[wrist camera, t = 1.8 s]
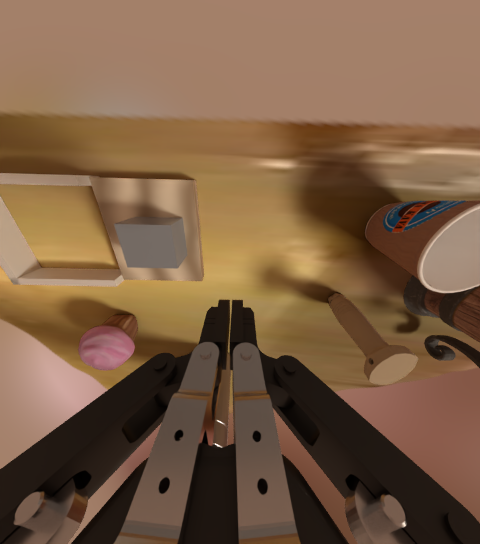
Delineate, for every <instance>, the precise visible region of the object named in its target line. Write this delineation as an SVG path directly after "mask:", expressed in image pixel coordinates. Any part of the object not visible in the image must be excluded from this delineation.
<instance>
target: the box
mask: <svg viewBox="0 0 480 544" xmlns="http://www.w3.org/2000/svg"><path fill="white" fill-rule="evenodd" d="M89 177H97V178H100V177H99V176H85V175H52V174H15V173H0V184H26V185H63V186H92V185H91V182H90V179H89ZM0 266H1V267H2V269H3V270H4V271H5V273H6V274H7V276H8V277H9V279H10V280H11V281H12V283H13V284H19V285H67V286H115V287H117V286H118V285H119V284H120V283H121V282H123V281H124V279H123V277H122V274H121V271H120V269H85V268H41V266H40V264H39V262H38V261H37V259H36V257H35V255H34V254H33V252H32V250H31V249H30V247H29V245H28V243H27V242H26V240H25V238H24V236H23V235H22V233H21V231H20V229H19V228H18V226H17V224H16V222H15V221H14V219H13V217H12V216H11V214H10V212H9V210H8V209H7V207H6V205H5V203H4V202H3V200H2V198H1V196H0Z"/></svg>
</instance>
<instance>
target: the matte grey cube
mask: <svg viewBox="0 0 480 544" xmlns="http://www.w3.org/2000/svg"><path fill="white" fill-rule="evenodd" d="M114 226H115V229H116V232H117V236H118V239H119V242H120V245H121V248H122V251H123V255H124V258H125V261H126V264H127V267H128V268H174V269H178V268H179V266H180V265H181V263H182V262H183V261H184V259H185V258H186V256H187V247H186V239H185V231H184V224H183V218H175V217H133V218H130V219H127V220H124V221H121V222H118V223H115V224H114Z"/></svg>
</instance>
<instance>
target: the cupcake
mask: <svg viewBox="0 0 480 544" xmlns="http://www.w3.org/2000/svg"><path fill="white" fill-rule="evenodd" d="M137 331H138V324H137V320H136V318H135V316H133V315H114V316H112V317H110V318H109V319H108V320H107V321H106V322H104V323H103V324H102V325H100V326H96V327H93V328H91V329H90V330H88V331H87V332H86V333H85V334H84V335H83V336H82V338H81V340H80V343H79V349H78V350H79V355H80V357H81V359H82V361H83V362H84V363H85V364H87V365H89V366H92V367H93V368H95V369H99V370H112V369H115V368H117V367H118V366H120V365H122V364H123V363H124V362H125V361H126V360H127V359H128V358H129V357H130V356H131V355H132V354H133V352H134V349H135V345H134V339H135V336H136V334H137Z"/></svg>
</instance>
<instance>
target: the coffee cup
mask: <svg viewBox="0 0 480 544" xmlns="http://www.w3.org/2000/svg"><path fill="white" fill-rule="evenodd" d="M365 235H366V238H367V240H368V241H369V242H370V244H372V246H373V247H375V248H376V249H377V250H379V251H380V252H382V253H383V254H384V255H386V256H387V257H389V258H390V259H391V260H393V261H394V262H395V263H397V264H398V265H400V266H401V267H402V268H404V269H405V270H406V271H408V272H409V273H411V274H412V275H414V276H415V277H416V278H417V279H419V280H420V282H421V283H422V284H423V285H424V286H425V287H426V288H427V289H429V290H432V291H435V292H440V293H454V292H460V291H464V290H468V289H471V288H474V287H476V286H479V285H480V201H411V202H399V203H392V204H388V205H386V206H384V207H382V208H380V209H379V210H378V211H376V212H375V213H374V214H373V215H372V216H371V218H370V219H369V221H368V223H367V225H366V229H365ZM430 285H431V286H430Z"/></svg>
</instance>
